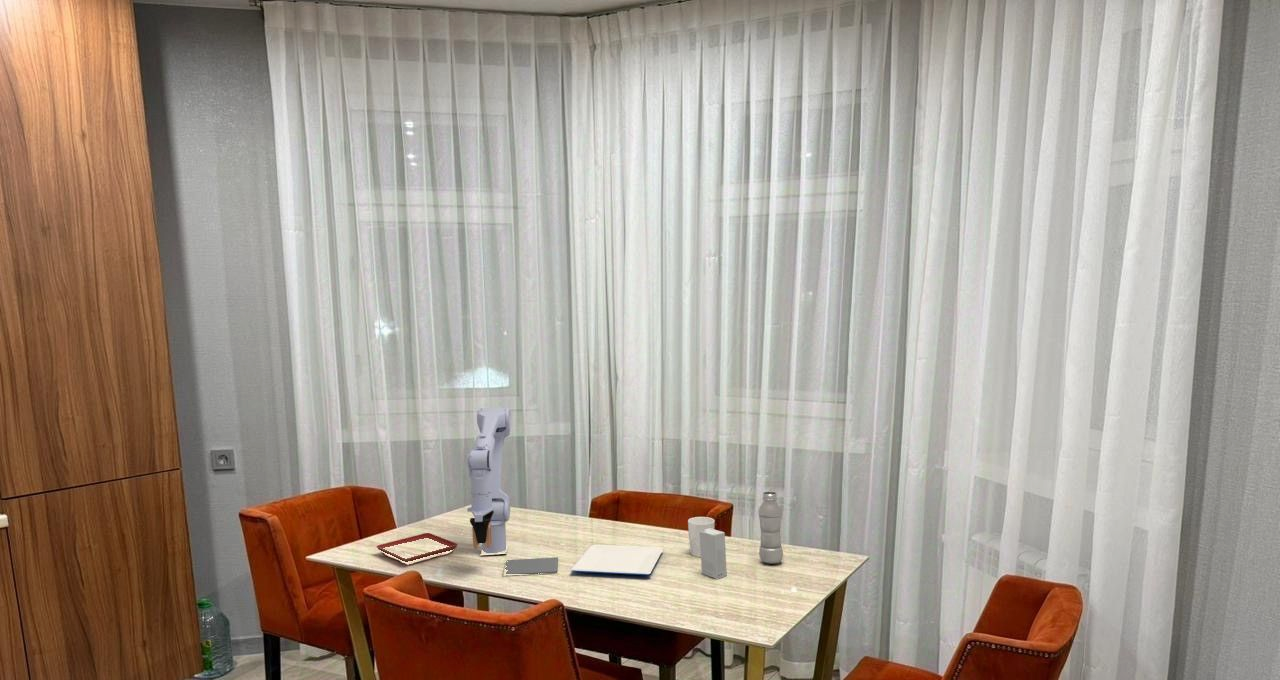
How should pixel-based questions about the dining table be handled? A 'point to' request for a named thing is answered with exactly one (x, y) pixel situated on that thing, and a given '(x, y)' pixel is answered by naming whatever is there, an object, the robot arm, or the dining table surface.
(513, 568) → the rubber mat
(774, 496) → the plastic bottle
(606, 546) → the plate
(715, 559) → the skincare box
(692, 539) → the white cup
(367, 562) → the dining table surface
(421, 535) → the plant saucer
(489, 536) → the notched tan cube
